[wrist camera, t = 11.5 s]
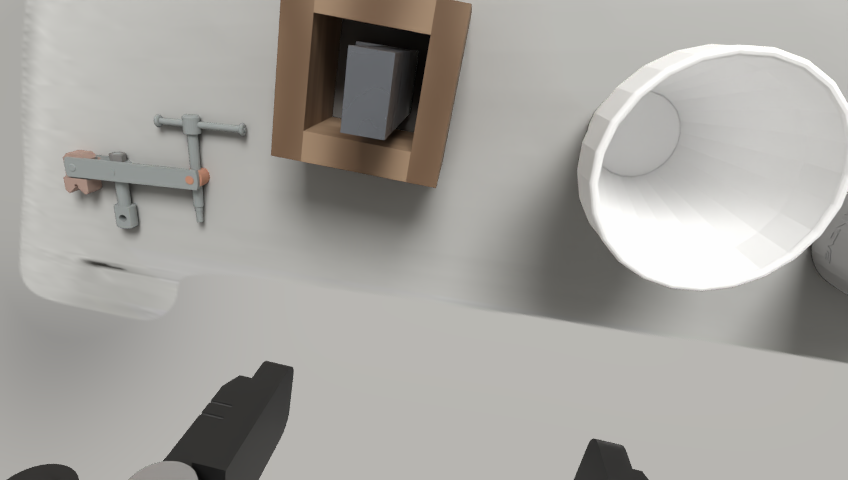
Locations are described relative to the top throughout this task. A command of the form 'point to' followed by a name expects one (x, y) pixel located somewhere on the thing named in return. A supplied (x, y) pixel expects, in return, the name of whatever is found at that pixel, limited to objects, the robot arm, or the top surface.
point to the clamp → (143, 170)
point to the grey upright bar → (377, 89)
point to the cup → (715, 165)
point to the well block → (316, 79)
